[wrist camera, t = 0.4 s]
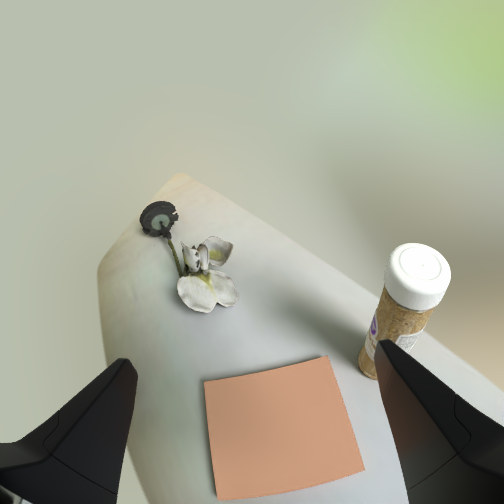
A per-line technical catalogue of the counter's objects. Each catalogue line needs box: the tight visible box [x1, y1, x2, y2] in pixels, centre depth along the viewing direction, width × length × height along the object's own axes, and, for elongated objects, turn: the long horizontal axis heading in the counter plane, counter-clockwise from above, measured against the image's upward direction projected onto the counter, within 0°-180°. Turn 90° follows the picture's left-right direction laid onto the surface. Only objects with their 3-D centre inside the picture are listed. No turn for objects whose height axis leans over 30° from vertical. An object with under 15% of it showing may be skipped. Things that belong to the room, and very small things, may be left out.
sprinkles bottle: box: [358, 243, 451, 380], centre depth 19 cm, size 5×5×14 cm
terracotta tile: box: [204, 356, 365, 500], centre depth 20 cm, size 12×12×1 cm
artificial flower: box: [140, 201, 239, 313], centre depth 37 cm, size 9×22×10 cm, turn 29°
